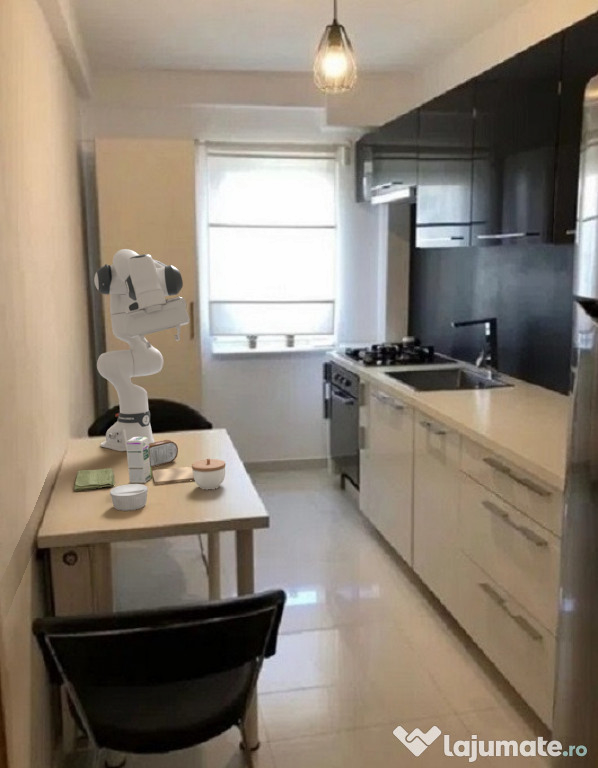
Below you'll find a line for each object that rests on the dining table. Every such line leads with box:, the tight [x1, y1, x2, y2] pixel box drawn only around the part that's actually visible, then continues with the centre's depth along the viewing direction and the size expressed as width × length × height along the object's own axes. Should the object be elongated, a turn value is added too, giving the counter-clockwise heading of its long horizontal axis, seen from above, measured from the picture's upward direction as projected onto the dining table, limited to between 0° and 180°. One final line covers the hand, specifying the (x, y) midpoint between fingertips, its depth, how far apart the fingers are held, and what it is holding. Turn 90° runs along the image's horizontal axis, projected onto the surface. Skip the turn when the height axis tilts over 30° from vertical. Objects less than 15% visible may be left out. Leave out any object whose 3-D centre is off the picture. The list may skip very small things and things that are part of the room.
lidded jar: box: [191, 457, 226, 491], centre depth 231 cm, size 11×11×9 cm
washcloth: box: [73, 468, 116, 492], centre depth 241 cm, size 13×18×3 cm
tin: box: [149, 439, 179, 468], centre depth 259 cm, size 15×3×8 cm, turn 134°
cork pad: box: [151, 465, 194, 486], centre depth 244 cm, size 14×14×1 cm
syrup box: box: [126, 437, 153, 484], centre depth 240 cm, size 6×6×14 cm
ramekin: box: [109, 483, 149, 512], centre depth 215 cm, size 11×11×5 cm
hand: (163, 344), depth 229 cm, fingers open, 8 cm apart
